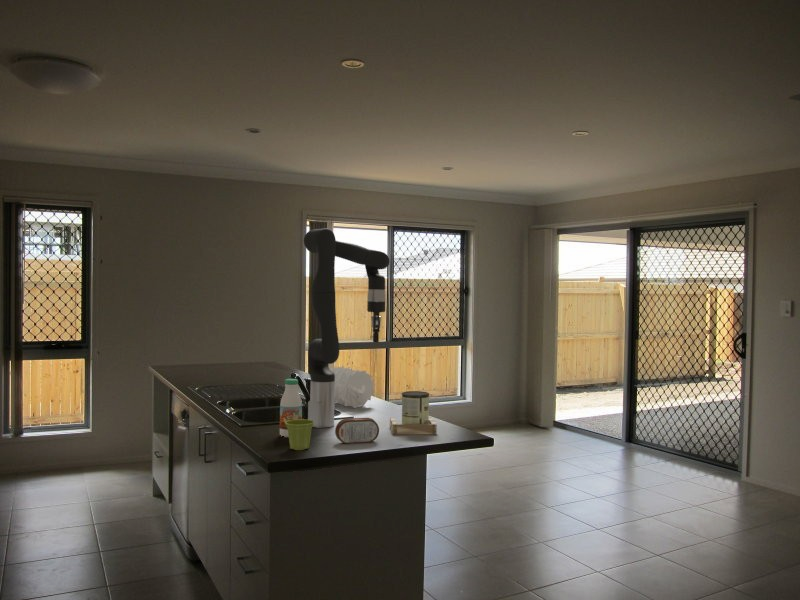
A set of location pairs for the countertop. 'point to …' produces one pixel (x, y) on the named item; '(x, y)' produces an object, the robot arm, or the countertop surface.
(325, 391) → the robot arm
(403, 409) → the coffee can
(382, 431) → the countertop surface
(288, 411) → the milk bottle
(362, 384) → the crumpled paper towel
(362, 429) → the tin
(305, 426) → the plant pot
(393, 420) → the wooden tray
